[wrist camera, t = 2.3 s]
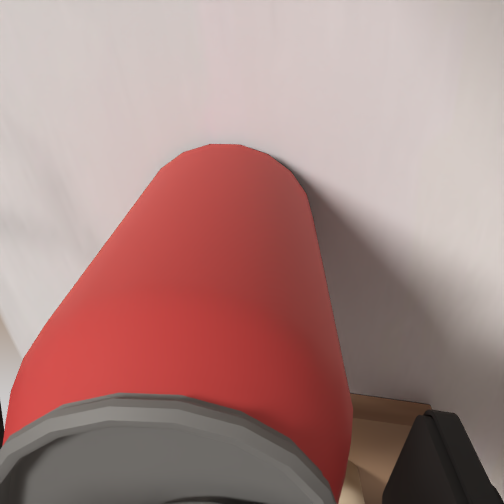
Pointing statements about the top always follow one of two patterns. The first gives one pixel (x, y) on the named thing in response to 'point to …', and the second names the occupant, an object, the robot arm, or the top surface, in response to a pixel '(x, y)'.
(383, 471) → the peg stand
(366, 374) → the top surface
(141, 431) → the beer can
